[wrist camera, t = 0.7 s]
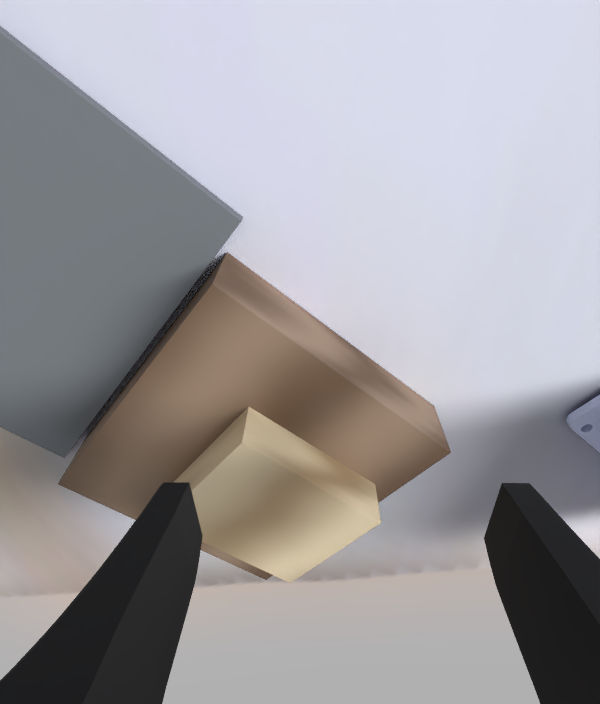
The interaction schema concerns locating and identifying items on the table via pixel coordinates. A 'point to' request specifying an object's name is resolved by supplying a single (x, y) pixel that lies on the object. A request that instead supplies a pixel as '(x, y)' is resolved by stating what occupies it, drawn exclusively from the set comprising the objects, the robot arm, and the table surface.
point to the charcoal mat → (85, 249)
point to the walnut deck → (252, 399)
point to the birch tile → (277, 498)
